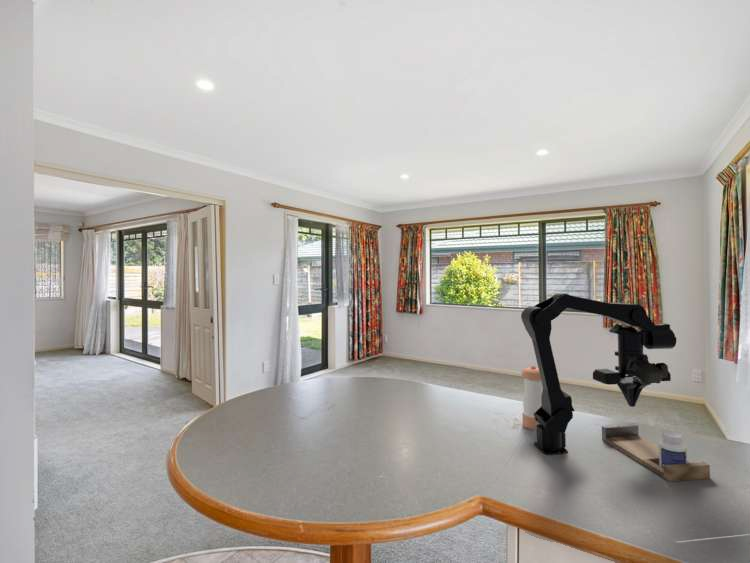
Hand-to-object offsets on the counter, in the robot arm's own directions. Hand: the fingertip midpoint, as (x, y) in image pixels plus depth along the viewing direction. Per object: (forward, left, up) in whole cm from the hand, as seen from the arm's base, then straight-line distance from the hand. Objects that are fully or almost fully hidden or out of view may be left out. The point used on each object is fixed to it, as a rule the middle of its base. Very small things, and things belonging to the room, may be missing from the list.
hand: (631, 406), depth 104 cm
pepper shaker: (-18, +19, -12) cm, 29 cm away
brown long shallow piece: (0, -6, -11) cm, 13 cm away
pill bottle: (0, -13, -12) cm, 17 cm away
